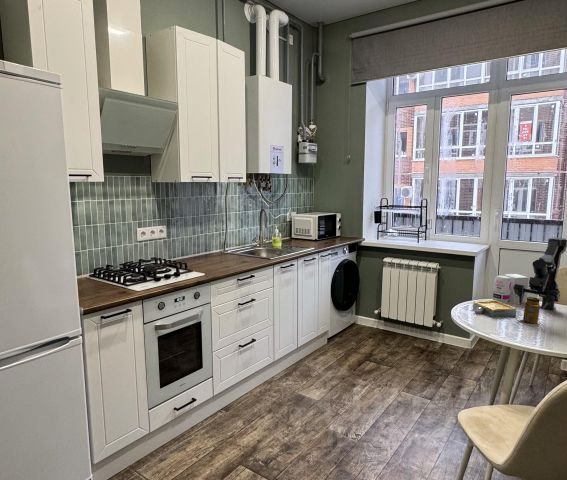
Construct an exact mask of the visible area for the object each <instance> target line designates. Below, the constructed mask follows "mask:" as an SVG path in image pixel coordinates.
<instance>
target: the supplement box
mask: <svg viewBox="0 0 567 480" xmlns="http://www.w3.org/2000/svg"><path fill="white" fill-rule="evenodd" d="M503 276H508V277H510V278H511V290H510V299H509V303H511V304H520V302H519V296H518V295H517V294H515V292H514V288H513V287H514V285H515V284H520V285H524V288H528V287H529V280H530V277H529V276H525V275H522V274H519V273H506V274H505V273H504V275H503ZM528 289H529V288H528ZM527 295H528V293H527V292H525V293H524V298H523V301H522V304H525V303H526V300H527V297H528V296H527Z"/></svg>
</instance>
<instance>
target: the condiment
mask: <svg viewBox="0 0 567 480" xmlns="http://www.w3.org/2000/svg"><path fill="white" fill-rule="evenodd" d="M540 306H541V305H540V298H538V297H532V296H527V297H526V303H524V310H523V317H522V318H523V319H519V320H517V322H519V323H521V324H524V325H528V326H531V327H533V326H537V325H538V326H539V325H541V322H539V314H540V309H541V308H540Z"/></svg>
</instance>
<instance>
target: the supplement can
mask: <svg viewBox="0 0 567 480" xmlns="http://www.w3.org/2000/svg"><path fill="white" fill-rule="evenodd" d="M510 290H511V278H510V277H508V276H504V275H503V274H502V275H500V274H499V275H496V276H495V277H494V282H493V291H492V293H493V295H492V300H496V301H499V302H501V303H504V304H507V305H509V304H510V302H509V299H510Z"/></svg>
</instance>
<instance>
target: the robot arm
mask: <svg viewBox="0 0 567 480" xmlns="http://www.w3.org/2000/svg"><path fill="white" fill-rule="evenodd" d="M547 240H548V241H547V247H546V249H545V252H544V254H543V255H542V256H540V257H539V258H538V259H536V260H534V261H533V262H532V268H533V273H534V276H530V277H529V281H528V287H529V288H524V285H520V284H515V285H514V287H513V288H514V292H515V294H517V295H518V296H519V302H520V303H519V306H521V305H522V304H523V303H522V301H523V298H524V293H525V292H527V294H532V295H537V296H538V297H539V298H540V297H541V298H542V299H541V305H540V308H539V309H541V310H546V311H552V312H554V311H555V310H556V308H557V307H555V304H556V303H558V302H559V301H560V300H561V299H560V298H561V292H560V289H559V284H558V282H557V276H558V272H559V267H560V262H561V257H562V255H563V254H564V253H565V252H566V251H567V238H566V237H565V238H564V237H556V236H555V237H550V238H549V237H548V239H547Z"/></svg>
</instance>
